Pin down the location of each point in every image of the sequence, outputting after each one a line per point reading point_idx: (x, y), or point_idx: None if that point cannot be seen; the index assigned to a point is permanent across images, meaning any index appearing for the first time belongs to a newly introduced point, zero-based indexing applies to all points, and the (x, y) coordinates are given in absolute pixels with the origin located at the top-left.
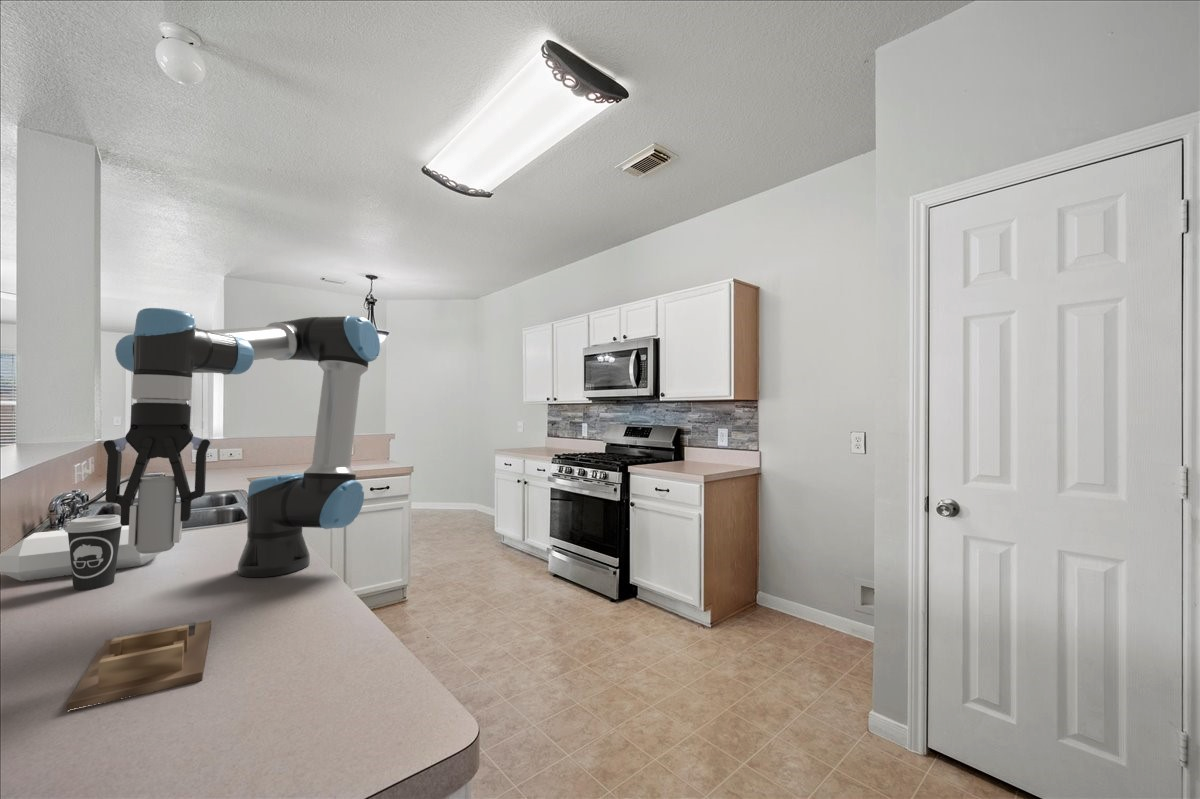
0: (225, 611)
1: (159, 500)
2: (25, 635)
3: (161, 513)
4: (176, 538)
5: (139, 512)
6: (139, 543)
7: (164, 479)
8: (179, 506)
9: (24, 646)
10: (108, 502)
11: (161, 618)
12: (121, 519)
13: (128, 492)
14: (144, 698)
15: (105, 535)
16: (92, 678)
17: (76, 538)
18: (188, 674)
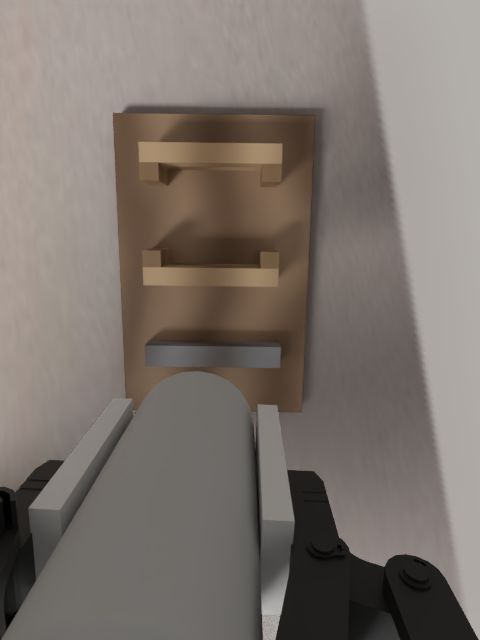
0: None
1: (127, 499)
2: (434, 553)
3: (139, 452)
4: (116, 405)
5: (244, 489)
6: (240, 402)
7: None
8: (45, 495)
9: (425, 494)
10: (416, 558)
11: None
12: (321, 492)
13: (321, 609)
14: (203, 97)
15: None
16: (294, 212)
17: None
18: (136, 117)
